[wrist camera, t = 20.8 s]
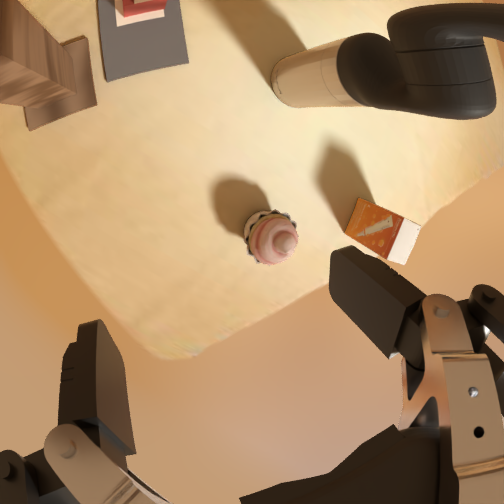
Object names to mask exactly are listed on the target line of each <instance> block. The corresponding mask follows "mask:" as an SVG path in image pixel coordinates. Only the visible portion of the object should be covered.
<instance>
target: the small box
mask: <svg viewBox="0 0 504 504" xmlns="http://www.w3.org/2000/svg"><path fill="white" fill-rule="evenodd" d="M420 229H421V226H420V225H418V224H416V223H415V222H413V221H411V220H409V219H407V218H404V217H402V216H400V215H398V214H396V213H394V212H392V211H389V210H387V209H385V208H383V207H380V206H378V205H376V204H373V203H371V202H369V201H366V200H364V199H361V198H358V200H357V203H356V206H355V209H354V211H353V214H352V216H351V219H350V221H349V224H348V226H347V228H346V230H345V234H346V235H347V236H349V237H351V238H352V239H354V240H356V241H357V242H359V243H361V244H362V245H364V246H365V247H367V248H369V249H370V250H372V251H374V252H375V253H377V254H378V255H380V256H381V257H383V258H385V259H386V260H390V261H393V262H396V263H399V264H402V265H405V263H406V261H407V259H408V257H409V255H410V252H411V251H412V249H413V246H414V244H415V241H416V238H417V236H418V234H419V231H420Z"/></svg>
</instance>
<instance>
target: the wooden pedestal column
mask: <svg viewBox="0 0 504 504" xmlns="http://www.w3.org/2000/svg"><path fill="white" fill-rule="evenodd" d="M0 103H2V104H10V105H18V106H25V112H26V118H27V123H28V129H29V131H32V130H35V129H37V128H39V127H41V126H44V125H46V124H48V123H51V122H53V121H55V120H58V119H60V118H63V117H66V116H68V115H71V114H73V113H76V112H79V111H82V110H84V109H87V108H90V107H93V106H96V105H97V100H96V94H95V88H94V82H93V75H92V68H91V60H90V52H89V43H88V38H84V39H81V40H78V41H75V42H73V43H70V44H67V45H65V46H61V45H60V44H59V43H58V42H57V41H56V40H55V39H54V38H53V37H52V36H51V35H50V34H49V33H48V32H47V30H46V29H45V28H44V27H43V26H42V25H41V24H40V23H39V22H38V21H37V20H36V19H35V18H34V17H33V16H32V15H31V14H30V13H29V12H28V11H27V10H26V9H25V7H24V6H23V5H22V4H21V3H20V2H19V1H18V0H0Z"/></svg>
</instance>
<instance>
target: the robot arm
mask: <svg viewBox="0 0 504 504" xmlns="http://www.w3.org/2000/svg"><path fill="white" fill-rule="evenodd" d="M387 30H388V34H389V38H390V41H389V40H388V39H387V38H385V37H383V36H381V35H379V34H375V33H362V34H357V35H354V36H350V37H347V38H343V39H340V40H336V41H333V42H330V43H327V44H323V45H320V46H317V47H314V48H311V49H308V50H305V51H302V52H300V53H297V54H294V55H291V56H288V57H286V58H284V59H282V60H280V61H279V62H278V63H277V64H276V65H275V67H274V69H273V71H272V76H271V84H272V87H273V90H274V92H275V94H276V96H277V97H278V98H279V99H280V100H281V101H282V102H283V103H285V104H286V105H288V106H291V107H295V108H306V107H375V108H378V109H385V110H396V111H403V112H410V113H415V114H421V115H426V116H432V117H438V118H446V119H456V120H468V119H478V118H482V117H485V116H487V115H489V114H490V113H492V112H493V111H494V109H495V107H496V91H495V86H494V81H493V77H492V72H491V67H490V63H489V59H488V55H487V52H486V48H485V45H484V41H483V36H484V37H489V38H494V39H497V40H500V41H503V42H504V4H492V3H449V4H435V5H426V6H419V7H414V8H410V9H406V10H403V11H400V12H398V13H396V14H394V15H393V16H391V17H390V18H389V20H388V22H387ZM329 291H330V295H331V297H332V299H333V301H334V302H335V303H336V304H337V305H338V306H339V307H340V308H341V309H342V310H343V311H344V312H345V313H346V314H347V315H348V317H350V319H351V320H352V321H353V322H354V323H355V324H356V325H357V326H358V327H359V328H360V329H361V330H362V331H363V332H364V333H365V334H366V335H367V337H368V338H369V339H370V340H371V341H372V342H373V343H374V344H375V345H376V346H377V347H378V348H379V349H380V350H381V351H382V353H383V354H384V355H385V356H386V357H387V358H388V359H390V358H392V357H394V356H395V355H397V354H398V353H400V354H401V355H402V356H403V357H402V361H401V368H402V389H403V408H402V413H401V416H400V420H399V425H398V429H397V428H396V427H395V425H394V424H393V425H391V426H390V427H388V428H387V429H385V430H384V431H382V432H381V433H379V434H377V435H376V436H374V437H372V438H371V439H369V440H367V441H366V442H364V443H362V444H361V445H360V446H359V447H358V448H357V449H356V450H355V451H354V452H352V453H351V455H349V456H348V457H347V458H346V459H345V460H344V461H343V462H342V463H340V464H339V465H338V466H337V467H336V468H335V469H333V470H332V471H331V472H329V473H327V474H324V475H320V476H315V477H311V478H306V479H301V480H296V481H290V482H284V483H280V484H278V485H275V486H272V487H270V488H267V489H264V490H261V491H259V492H256V493H253V494H250V495H246V496H243V497H240V498H239V499H240V501H241V504H504V429H503V422H502V416H501V414H502V415H503V417H504V362H503V361H502V360H501V359H500V358H499V357H498V356H497V355H496V354H495V353H494V352H493V351H492V350H491V349H490V348H489V347H488V346H487V345H486V344H485V341H486V339H487V337H488V335H489V334H490V332H492V333H493V334H494V335H495V336H496V337H497V338H498V339H500V340H501V341H502V342H503V343H504V295H502V294H501V293H500V292H499V291H498V290H496V289H495V288H493V287H491V286H489V285H484V284H480V285H476V286H475V287H474V288H473V290H472V292H471V295H470V297H469V299H465V300H461V301H457V302H456V301H454V300H453V299H452V298H450V297H448V296H446V295H442V294H431V295H429V296H427V295H426V294H424V293H423V292H422V291H421V290H419V289H418V288H417V287H416V286H414V285H413V284H412V283H410V282H409V281H408V280H407V279H405V278H404V277H403V276H401V275H398V273H397V272H396V271H394V270H393V269H392V268H391V269H390V267H389V266H388V265H387V264H385V263H384V262H383V261H381V260H380V259H378V258H375V257H372V256H370V255H367V254H364V253H363V252H362V251H360V250H359V249H357V248H356V247H355V246H352V245H350V246H347V247H344V248H341V249H338V250H335V251H333V252H332V253H331V258H330V275H329ZM133 454H136V449H135V444H134V438H133V432H132V425H131V419H130V411H129V403H128V395H127V386H126V377H125V367H124V362H123V359H122V356H121V354H120V352H119V350H118V348H117V346H116V345H115V343H114V341H113V339H112V337H111V335H110V334H109V332H108V330H107V328H106V326H105V324H104V323H103V321H102V320H101V319H98V320H94V321H91V322H87V323H83V324H80V325H79V327H78V333H77V341H76V342H74V343H70V344H69V346H68V348H67V350H66V352H65V354H64V356H63V362H62V372H61V383H60V393H59V410H58V426H57V427H55V428H54V429H52V431H50V433H49V434H48V436H47V438H46V439H45V443H44V448H43V449H41V450H39V451H37V452H34V453H32V454H30V455H28V456H25V457H21V456H20V455H19V454H17V453H16V452H14V451H12V450H4V451H2V452H0V504H173V503H171V502H170V501H169V500H167V499H166V498H165V497H163V496H162V495H161V494H159V493H158V492H157V491H155V490H154V489H153V488H151V487H150V486H149V485H148V484H146V483H145V482H144V481H143V480H142V479H140V478H139V477H138V476H137V475H136V474H135V473H133V472H132V471H131V470H130V469H129V468H127V463H126V457H125V456H127V455H133Z"/></svg>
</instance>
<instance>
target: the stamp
mask: <svg viewBox="0 0 504 504" xmlns="http://www.w3.org/2000/svg"><path fill="white" fill-rule="evenodd" d="M122 3H123V12H124V18H125V17H129V16H133V15H137V14H142V13H147V12H152V11H157V10H162V9H165V6H166V3H167V0H122Z"/></svg>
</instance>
